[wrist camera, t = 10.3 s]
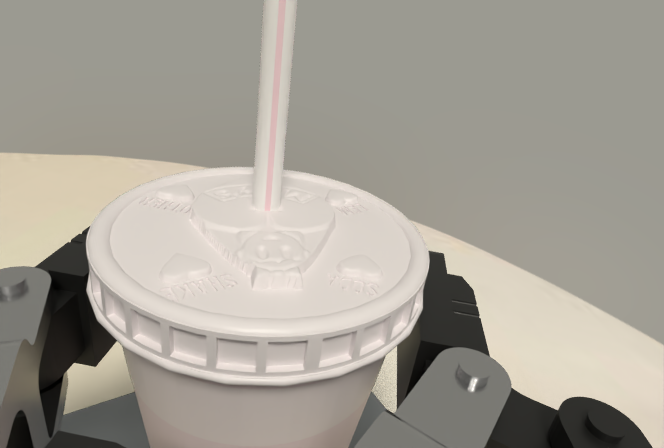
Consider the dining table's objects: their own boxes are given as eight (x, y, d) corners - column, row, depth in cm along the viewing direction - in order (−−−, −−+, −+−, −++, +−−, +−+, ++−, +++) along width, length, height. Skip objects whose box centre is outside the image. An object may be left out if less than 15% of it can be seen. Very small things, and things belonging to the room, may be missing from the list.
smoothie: (331, 421, 17) (409, -10, 11) (386, 640, 11) (616, 12, 5) (141, 438, 15) (100, -55, 9) (98, 702, 10) (-81, -93, 4)
